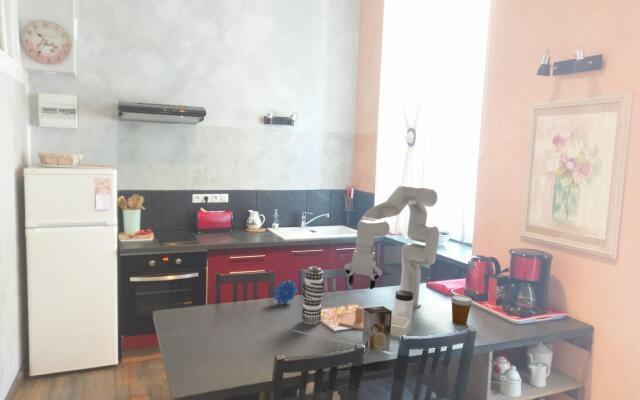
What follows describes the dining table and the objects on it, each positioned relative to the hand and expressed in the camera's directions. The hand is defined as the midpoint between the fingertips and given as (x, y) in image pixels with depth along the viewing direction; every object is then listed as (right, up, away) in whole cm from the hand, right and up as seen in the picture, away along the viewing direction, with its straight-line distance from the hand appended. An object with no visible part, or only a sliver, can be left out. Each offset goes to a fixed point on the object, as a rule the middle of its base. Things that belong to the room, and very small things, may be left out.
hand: (361, 286), depth 209 cm
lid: (-1, -17, +2) cm, 17 cm away
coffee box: (+4, -21, -22) cm, 31 cm away
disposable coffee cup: (+47, -19, +11) cm, 52 cm away
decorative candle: (-22, -16, +1) cm, 28 cm away
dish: (+14, -19, -4) cm, 24 cm away
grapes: (-36, -13, +24) cm, 45 cm away
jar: (+21, -17, +14) cm, 30 cm away
